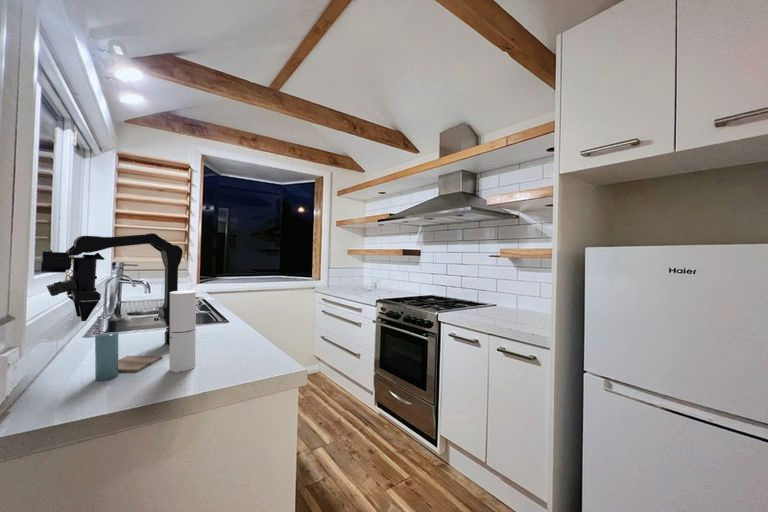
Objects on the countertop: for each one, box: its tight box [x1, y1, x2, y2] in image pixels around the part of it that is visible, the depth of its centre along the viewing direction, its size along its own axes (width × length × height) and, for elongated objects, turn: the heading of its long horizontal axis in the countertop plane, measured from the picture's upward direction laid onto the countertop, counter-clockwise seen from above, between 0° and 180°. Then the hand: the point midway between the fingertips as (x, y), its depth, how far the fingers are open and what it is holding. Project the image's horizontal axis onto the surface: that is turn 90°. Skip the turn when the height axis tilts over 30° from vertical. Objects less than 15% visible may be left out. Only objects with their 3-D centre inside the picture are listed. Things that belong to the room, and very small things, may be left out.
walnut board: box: [118, 355, 163, 373], centre depth 105 cm, size 12×12×1 cm
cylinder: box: [94, 331, 119, 382], centre depth 95 cm, size 5×5×13 cm
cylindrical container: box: [169, 289, 197, 373], centre depth 103 cm, size 7×7×25 cm
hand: (81, 318), depth 107 cm, fingers open, 9 cm apart
